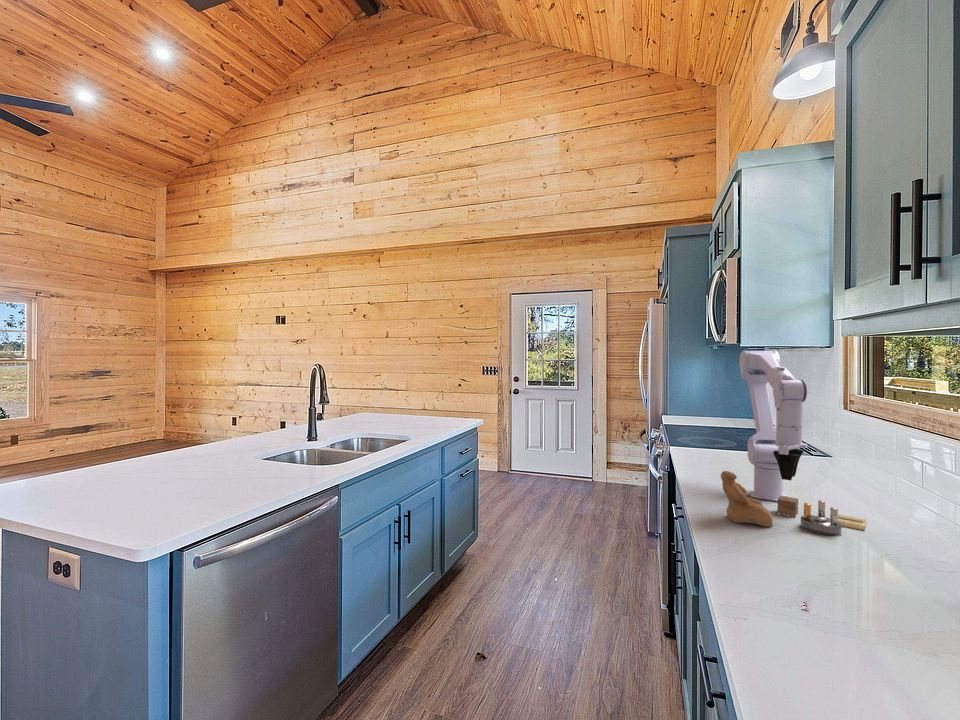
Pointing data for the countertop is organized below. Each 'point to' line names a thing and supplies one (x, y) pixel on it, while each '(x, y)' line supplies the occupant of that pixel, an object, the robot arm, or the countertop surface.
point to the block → (788, 506)
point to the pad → (852, 522)
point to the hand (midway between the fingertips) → (788, 477)
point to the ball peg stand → (821, 520)
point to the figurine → (743, 503)
